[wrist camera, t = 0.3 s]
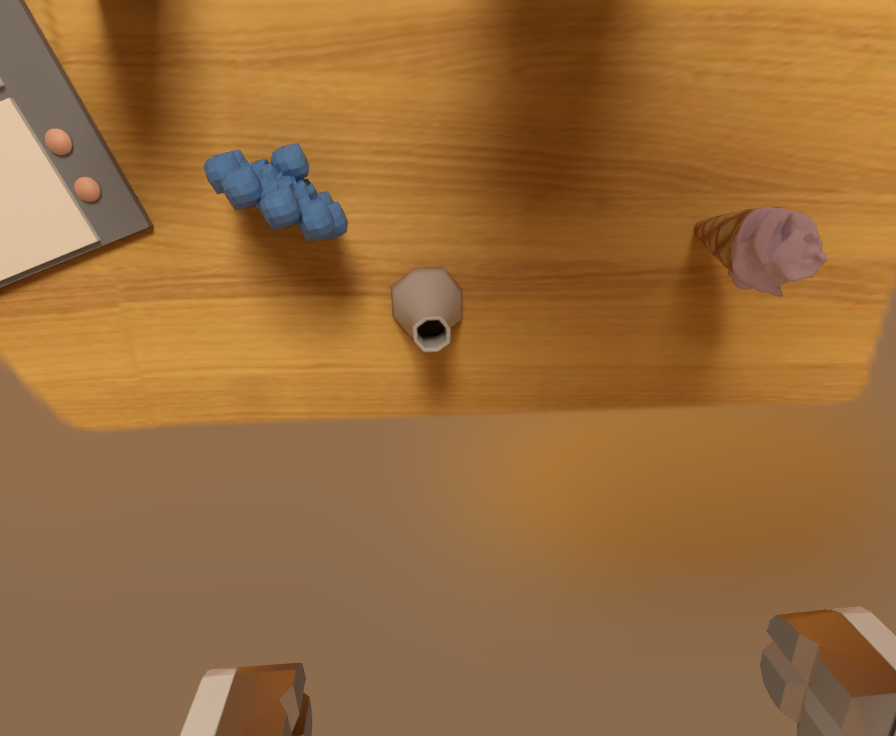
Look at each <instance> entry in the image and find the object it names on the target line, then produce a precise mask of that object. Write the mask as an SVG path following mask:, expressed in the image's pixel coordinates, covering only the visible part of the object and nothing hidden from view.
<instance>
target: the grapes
mask: <svg viewBox="0 0 896 736" xmlns="http://www.w3.org/2000/svg"><path fill="white" fill-rule="evenodd" d="M204 170H205V173H206V176H207V179H208V181H209V182H210V184H211V186H212V187H213V189H214V190H215V191H216V193H217V194H221V193H225V195H226V197H227V199H228V200H229V202H230V203H231V205H232V206H233V208H234V209H235V210H240V209H245V208H249V207H252V206H254V205H255V207H256V208H257V209H258V208H259V211H260V213H261V214H262V216H263V218H264V219H265V221H266V222H267V224H269V225H270V227H271V228H272V230H275V229H281V228H285V227H289V226H292V225H294V224H295V223H297V224H298V226H299V229H300V230H301V232H302V234H303V235H304V237H305V239H306V240H307V242H310V241H316V240H320V239H321V240H329V239H333V238H337V237H340V236H342V235H343V234H345V233H346V232H347V226H348V221H347V218H346V216H345V214H344V212H343V210H342V208H341V206H340V204H339V203H338V202H333V200H332V198H331V196H330V195H329V193H328V191H327V192H321V193H317V192H316V190H315V188H314V186H313V184H311V183H310V182H309V180H308V179H305V180H304V178H305V177H306V176H308V172H309V164H308V161H307V159H306V157H305V155H304V153H303V151H302V149H301V147H300V146H299V144H298V143H296V144H292V145H287V146H282V147H281V148H279V149H277V150H276V151H274V152H273V153H272V157H271V163H269V162H268V160H267V159H263V160H258V161H255V162H252V163H251V164H249V163H248V161H246V159H245V158H244V156H243V154H242V153H241V151H240V150H236V151H231V152H226V153H222V154H218V155H215V156H213V157H211V158H209V159H208V160H207V161H206V162H205V165H204Z"/></svg>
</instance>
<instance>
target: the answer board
mask: <svg viewBox="0 0 896 736" xmlns="http://www.w3.org/2000/svg"><path fill="white" fill-rule="evenodd" d="M151 226H153V224H152V222H151V221H150V219H149V217H148V215H147V214H146V212H145V210H144V209H143V207H142V205H141V203H140V202H139V200H138V198H137V196H136V195H135V193H134V191H133V189H132V188H131V186H130V184H129V182H128V181H127V179H126V177H125V175H124V174H123V172H122V170H121V169H120V167H119V165H118V163H117V162H116V160H115V158H114V156H113V155H112V153H111V151H110V149H109V148H108V146H107V144H106V142H105V141H104V139H103V137H102V135H101V134H100V132H99V130H98V129H97V127H96V125H95V123H94V122H93V120H92V118H91V116H90V115H89V113H88V111H87V109H86V108H85V106H84V104H83V102H82V101H81V99H80V97H79V95H78V94H77V92H76V90H75V88H74V87H73V85H72V83H71V82H70V80H69V78H68V76H67V75H66V73H65V71H64V69H63V68H62V66H61V64H60V62H59V61H58V59H57V57H56V55H55V54H54V52H53V50H52V48H51V47H50V45H49V43H48V42H47V40H46V38H45V36H44V35H43V33H42V31H41V29H40V28H39V26H38V24H37V22H36V21H35V19H34V17H33V15H32V14H31V12H30V10H29V8H28V7H27V5H26V3H25V2H24V0H0V288H1V287H4V286H6V285H9V284H11V283H14V282H16V281H18V280H21V279H23V278H26V277H28V276H31V275H33V274H36V273H38V272H41V271H43V270H45V269H48V268H50V267H53V266H55V265H58V264H60V263H63V262H65V261H68V260H70V259H72V258H75V257H77V256H80V255H82V254H85V253H87V252H90V251H92V250H95V249H97V248H99V247H102V246H104V245H107V244H109V243H112V242H114V241H117V240H119V239H122V238H124V237H126V236H129V235H131V234H134V233H136V232H139V231H141V230H144V229H146V228H149V227H151Z"/></svg>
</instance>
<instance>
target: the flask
mask: <svg viewBox="0 0 896 736" xmlns="http://www.w3.org/2000/svg"><path fill="white" fill-rule="evenodd" d="M391 296H392V315H393V317H394V318H395V319H396V321H397V322H398V323H399V324H400V325H401V326H402V327H403V329H404V330H405V331H406V332H407V333H408V334H409V336H410V337H412V338H413V341H414V342H415V344H416V345H417V346H418V347H419V348H420V349H421V350H422V352H423V353H427V352H439V351H441V350H442V349H443V348H445V347H446V346H447V345H449V344H450V343H451V327H452V326H454V325H455V324H456V323H458V322H459V321H460V320H462V290H461V289H460V287H459V286H458V285H457V284H456V282H455V281H454V280H453V278H452V277H451V276H450V275H449V273H448V272H447V271H446V270H445V268H423V269H413V270H412V271H411V272H410V273H408V274H407V275H406V276H404V277H403V278H402V279H401V280H399V281H398V282H397V283H396V284H394V285H393V286H392V287H391Z"/></svg>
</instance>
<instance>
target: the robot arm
mask: <svg viewBox="0 0 896 736" xmlns="http://www.w3.org/2000/svg"><path fill="white" fill-rule="evenodd" d="M767 632H768V634H769V635H770V636H771V638H772V639H773V641H772V642H771V643H770V644H769V645H768V646H767V647H766V648H765V649H764V650H763V651H762V658H761V663H760V667H761V672H762V677H763V682H764V684H765V687H766V689H767V691H768V693H769V695H770V697H771V698H772V700H773V702H774V703H775V705H776V706H777V708H778V709H779V711H781V712H782V713H784V714H785V715H787V716H788V717H790V718H791V719H793V720H794V721H796V722H797V736H896V636H895V635H894V634H893V633H892V632H891V631H890V630H889V629H888V628H886V626H885V625H883V624H882V623H881V622H880V621H879V620H878V619H877V618H876V617H875V616H874V615H873V614H872V613H871V612H870V611H868V610H866V609H864V608H862V607H860V606H859V607H850V608H840V609H831V610H827V609H825V610H816V611H808V612H798V613H789V614H780V615H775V616H774V617H773V618H772V619H771V620H770V621H769V626H768V629H767ZM305 680H306V676H305V672H304V667H303V664H302V663H290V664H275V665H261V666H247V667H238V668H225V669H212V670H208V672H207V673H206V674H205V676H204V677H203V679H202V680H201V682H200V685H199V688H198V690H197V693H196V695H195V698H194V700H193V703H192V706H191V708H190V711H189V713H188V716H187V719H186V721H185V724H184V727H183V729H182V732H181V734H180V736H312V709H311V702H310V697H309V696H308V695H307V694H305V693H304V692H303V691H304V685H305Z"/></svg>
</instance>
